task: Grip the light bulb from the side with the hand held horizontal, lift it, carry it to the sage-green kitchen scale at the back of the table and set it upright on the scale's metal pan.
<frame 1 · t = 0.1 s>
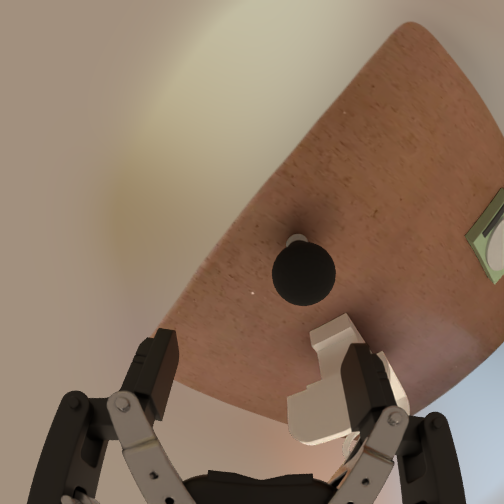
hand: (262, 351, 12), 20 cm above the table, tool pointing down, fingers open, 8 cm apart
scale: (496, 235, 29), on the table
light bulb: (296, 239, 32), on the table
tape dispenser: (342, 348, 40), on the table
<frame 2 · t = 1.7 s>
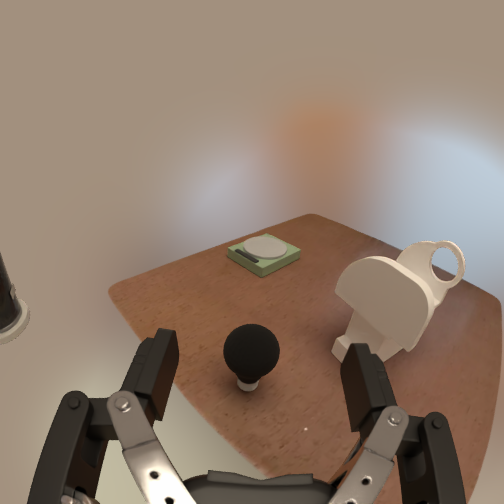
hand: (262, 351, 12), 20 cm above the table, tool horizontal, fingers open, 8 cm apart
scale: (264, 257, 60), on the table
light bulb: (247, 387, 31), on the table
tape dispenser: (377, 351, 37), on the table
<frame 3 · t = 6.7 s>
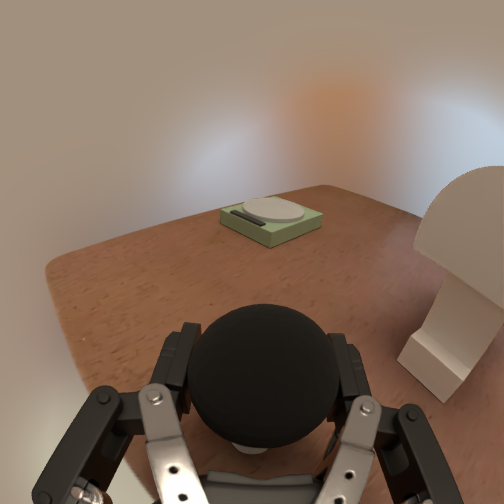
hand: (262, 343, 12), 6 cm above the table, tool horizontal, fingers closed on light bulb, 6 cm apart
scale: (272, 224, 42), on the table
light bulb: (250, 442, 13), on the table, touching gripper
tape dispenser: (458, 352, 19), on the table
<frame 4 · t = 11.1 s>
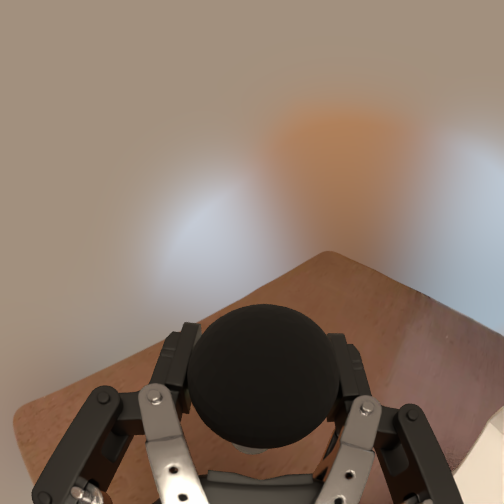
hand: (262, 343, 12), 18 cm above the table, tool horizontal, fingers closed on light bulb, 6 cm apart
light bulb: (250, 442, 13), point 11 cm above the table, touching gripper
when the fingers open (9 cm above the table, at t = 15.9 s): light bulb stays where it is, resting on scale.
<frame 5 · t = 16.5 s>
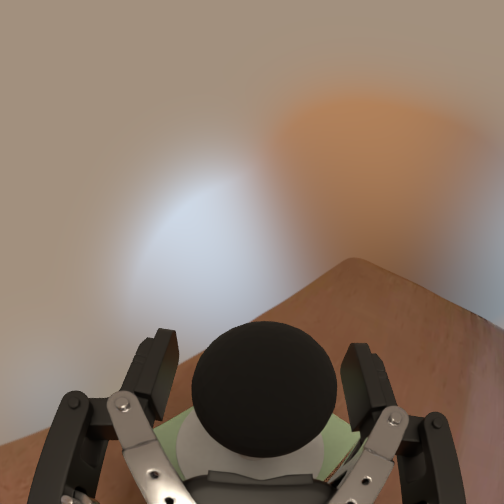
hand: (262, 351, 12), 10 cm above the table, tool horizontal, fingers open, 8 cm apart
scale: (248, 458, 15), on the table
light bulb: (252, 448, 14), point 3 cm above the table, touching scale
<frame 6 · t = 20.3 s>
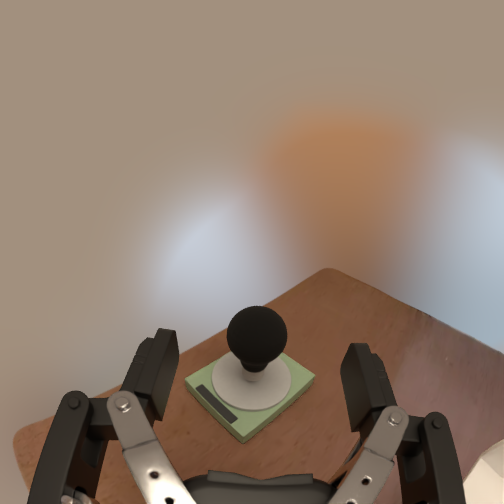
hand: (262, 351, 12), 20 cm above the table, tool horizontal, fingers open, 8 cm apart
scale: (250, 389, 31), on the table
light bulb: (252, 378, 30), point 3 cm above the table, touching scale
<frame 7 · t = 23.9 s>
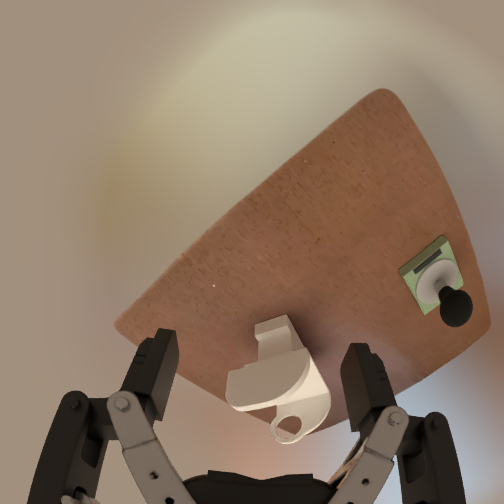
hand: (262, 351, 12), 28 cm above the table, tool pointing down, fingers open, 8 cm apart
scale: (431, 274, 42), on the table
light bulb: (437, 282, 40), point 3 cm above the table, touching scale
tape dispenser: (281, 343, 51), on the table
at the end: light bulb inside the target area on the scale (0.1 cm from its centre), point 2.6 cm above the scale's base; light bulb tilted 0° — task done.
